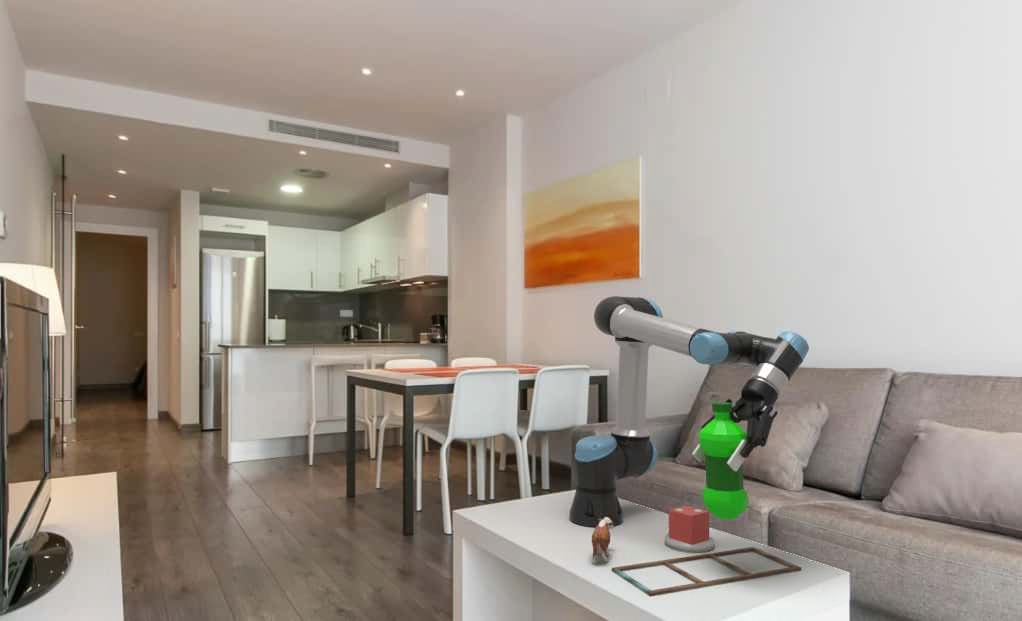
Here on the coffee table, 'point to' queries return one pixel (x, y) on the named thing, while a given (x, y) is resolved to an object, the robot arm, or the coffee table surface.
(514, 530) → the coffee table surface
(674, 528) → the red die stand
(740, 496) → the plastic bottle
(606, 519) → the bull figurine
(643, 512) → the coffee table surface
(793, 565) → the walnut frame
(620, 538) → the coffee table surface
